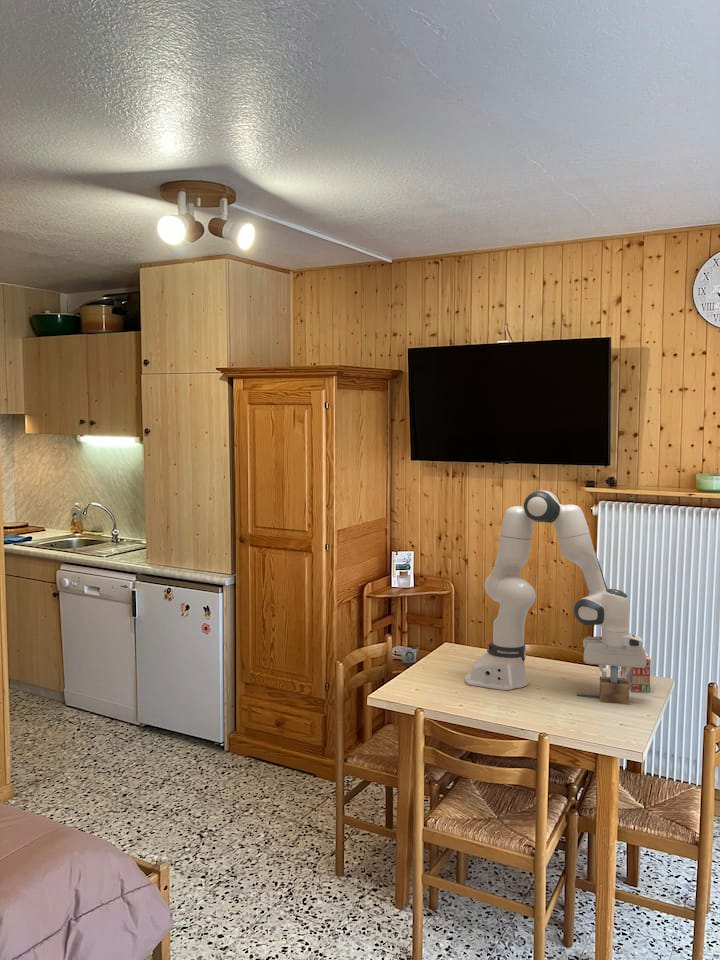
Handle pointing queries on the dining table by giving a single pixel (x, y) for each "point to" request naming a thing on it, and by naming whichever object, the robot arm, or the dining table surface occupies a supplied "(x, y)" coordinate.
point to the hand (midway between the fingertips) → (614, 678)
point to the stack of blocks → (639, 677)
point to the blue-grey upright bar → (614, 674)
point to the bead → (614, 691)
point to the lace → (587, 695)
